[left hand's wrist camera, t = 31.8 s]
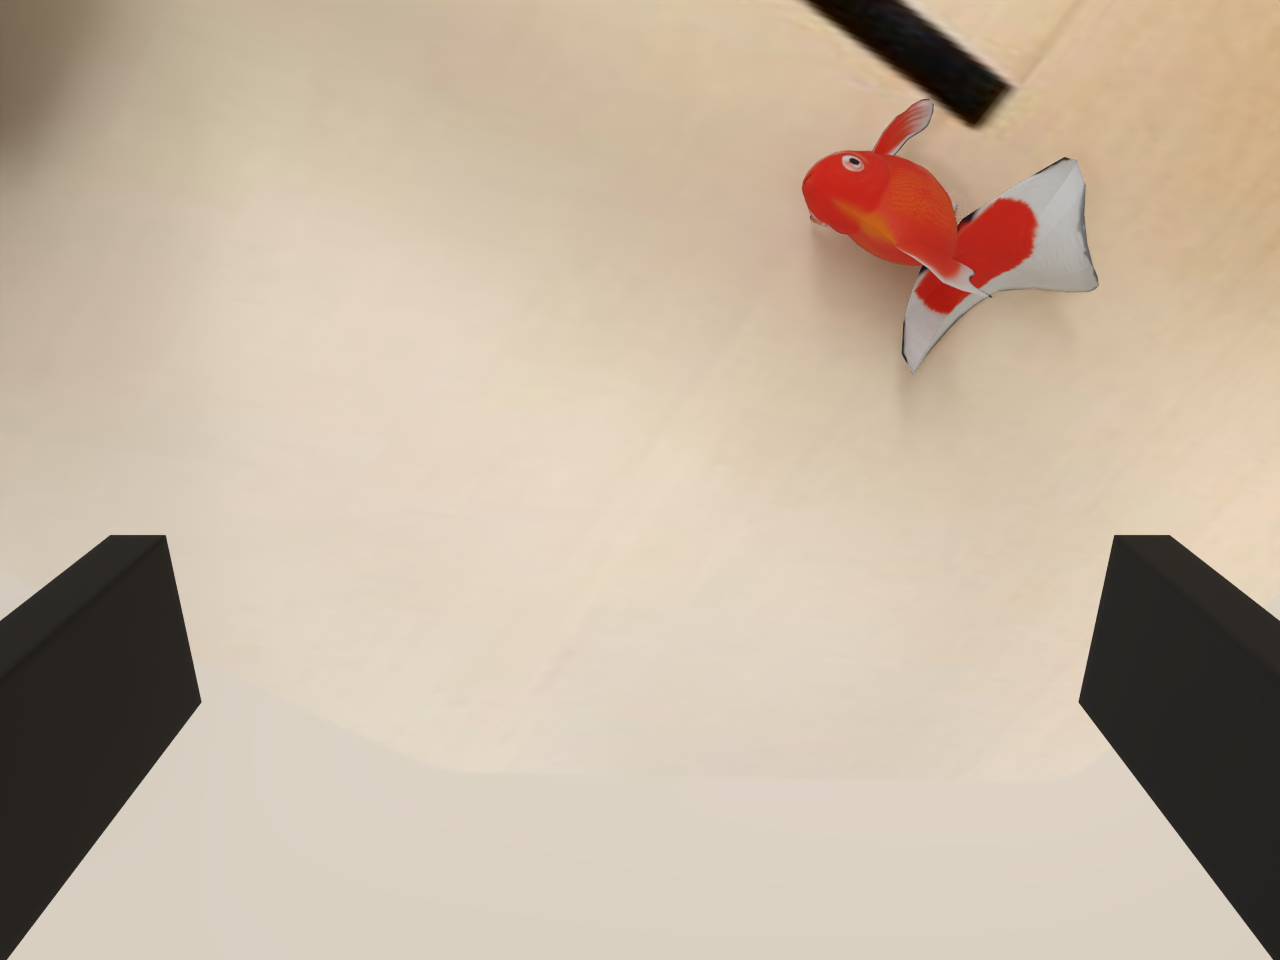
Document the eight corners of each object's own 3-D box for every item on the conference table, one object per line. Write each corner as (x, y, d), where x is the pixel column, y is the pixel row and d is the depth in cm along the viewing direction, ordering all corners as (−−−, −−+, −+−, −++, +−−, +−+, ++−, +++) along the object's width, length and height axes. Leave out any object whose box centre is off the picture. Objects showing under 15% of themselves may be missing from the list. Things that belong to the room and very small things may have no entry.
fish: (937, -29, 37) (1025, 105, 31) (1096, 179, 46) (1188, 313, 40) (742, 151, 43) (785, 293, 37) (919, 305, 52) (975, 437, 46)
